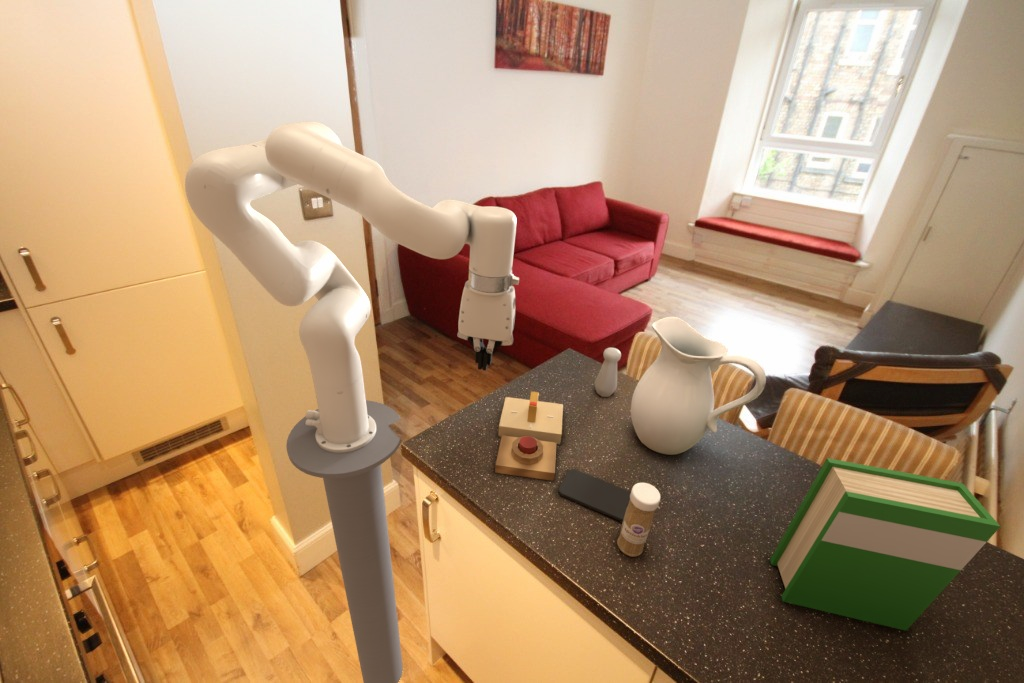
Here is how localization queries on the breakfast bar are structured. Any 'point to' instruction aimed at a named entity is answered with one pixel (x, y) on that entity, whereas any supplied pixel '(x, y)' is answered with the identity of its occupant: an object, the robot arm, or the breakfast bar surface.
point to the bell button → (527, 445)
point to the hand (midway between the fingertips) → (483, 366)
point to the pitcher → (684, 388)
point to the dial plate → (541, 429)
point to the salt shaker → (608, 373)
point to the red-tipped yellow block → (533, 406)
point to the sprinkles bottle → (638, 518)
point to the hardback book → (878, 542)
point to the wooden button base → (526, 459)
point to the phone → (595, 494)
